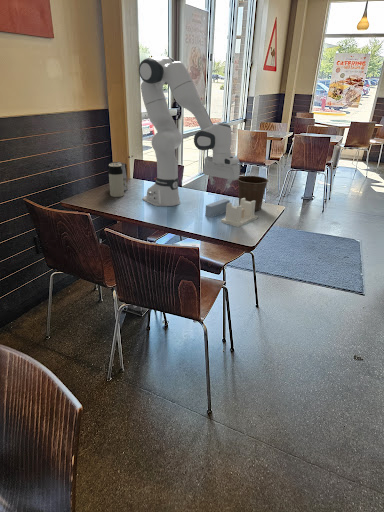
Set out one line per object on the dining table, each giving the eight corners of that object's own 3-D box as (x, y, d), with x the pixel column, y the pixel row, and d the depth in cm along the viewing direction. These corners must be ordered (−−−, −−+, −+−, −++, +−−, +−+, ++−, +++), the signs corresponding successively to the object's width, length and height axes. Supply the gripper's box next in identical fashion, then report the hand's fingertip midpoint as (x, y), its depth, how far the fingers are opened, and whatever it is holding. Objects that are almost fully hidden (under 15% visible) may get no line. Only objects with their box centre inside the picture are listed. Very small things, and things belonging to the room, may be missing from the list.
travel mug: (116, 198, 200) (114, 166, 192) (107, 195, 204) (105, 164, 196) (126, 195, 205) (125, 164, 197) (117, 192, 210) (115, 162, 202)
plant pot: (241, 213, 182) (244, 183, 175) (230, 204, 196) (232, 176, 189) (269, 212, 186) (273, 182, 179) (256, 203, 200) (260, 175, 193)
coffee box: (128, 189, 216) (127, 163, 209) (119, 191, 212) (118, 165, 205) (120, 186, 222) (118, 161, 215) (111, 188, 218) (109, 162, 211)
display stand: (220, 221, 170) (222, 203, 166) (241, 213, 182) (243, 196, 178) (237, 227, 164) (239, 208, 160) (257, 218, 177) (259, 200, 173)
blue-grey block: (205, 216, 177) (205, 205, 174) (223, 209, 188) (224, 198, 185) (210, 218, 175) (211, 206, 172) (229, 211, 186) (229, 200, 183)
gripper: (201, 156, 173) (200, 183, 179) (234, 161, 161) (232, 191, 167) (208, 154, 177) (208, 181, 183) (242, 160, 165) (240, 188, 171)
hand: (220, 186), depth 175 cm, fingers open, 8 cm apart
